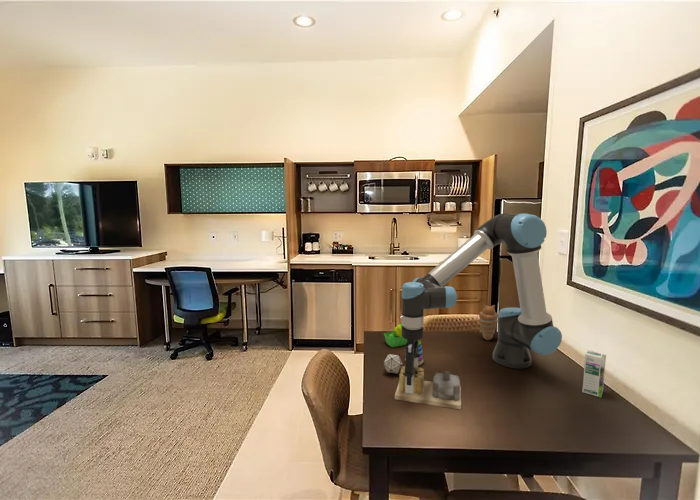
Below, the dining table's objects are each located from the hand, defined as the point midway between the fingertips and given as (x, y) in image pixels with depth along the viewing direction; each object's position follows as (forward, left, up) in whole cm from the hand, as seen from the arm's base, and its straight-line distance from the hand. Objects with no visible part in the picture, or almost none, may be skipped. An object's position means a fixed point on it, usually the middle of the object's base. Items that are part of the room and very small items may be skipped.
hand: (411, 382), depth 124 cm
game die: (+9, -12, -4) cm, 15 cm away
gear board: (-6, 0, -3) cm, 7 cm away
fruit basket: (+12, -41, -4) cm, 43 cm away
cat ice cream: (-30, -59, -4) cm, 66 cm away
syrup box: (-62, -18, -4) cm, 65 cm away
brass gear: (0, 0, -2) cm, 2 cm away
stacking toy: (+2, -24, -4) cm, 24 cm away
